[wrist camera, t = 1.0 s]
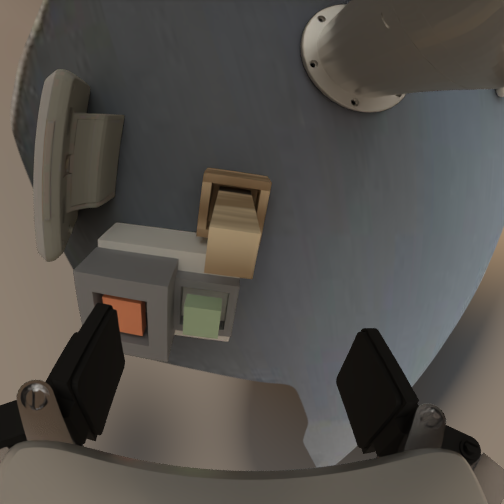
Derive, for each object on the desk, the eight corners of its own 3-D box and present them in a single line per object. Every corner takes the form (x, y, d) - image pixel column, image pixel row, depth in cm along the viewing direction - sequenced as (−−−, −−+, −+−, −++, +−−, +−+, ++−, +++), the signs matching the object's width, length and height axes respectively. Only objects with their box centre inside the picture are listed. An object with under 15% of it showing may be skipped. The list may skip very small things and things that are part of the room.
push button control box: (114, 222, 29) (72, 262, 20) (241, 238, 31) (244, 288, 22) (117, 297, 33) (88, 351, 24) (229, 314, 35) (228, 375, 26)
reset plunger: (108, 287, 23) (102, 296, 22) (145, 294, 24) (140, 304, 22) (111, 319, 25) (106, 328, 23) (146, 325, 25) (142, 336, 24)
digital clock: (81, 75, 22) (21, 63, 12) (150, 92, 24) (107, 77, 14) (46, 209, 28) (-8, 243, 18) (106, 234, 30) (61, 280, 20)
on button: (187, 293, 26) (184, 306, 24) (222, 298, 26) (221, 311, 24) (185, 321, 27) (182, 334, 25) (218, 325, 27) (217, 338, 25)
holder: (207, 167, 27) (203, 172, 24) (267, 176, 28) (271, 182, 25) (200, 224, 30) (196, 236, 27) (257, 231, 31) (259, 244, 27)
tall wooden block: (219, 186, 27) (209, 226, 16) (250, 190, 28) (261, 234, 17) (215, 215, 28) (203, 272, 18) (245, 219, 29) (252, 279, 18)
